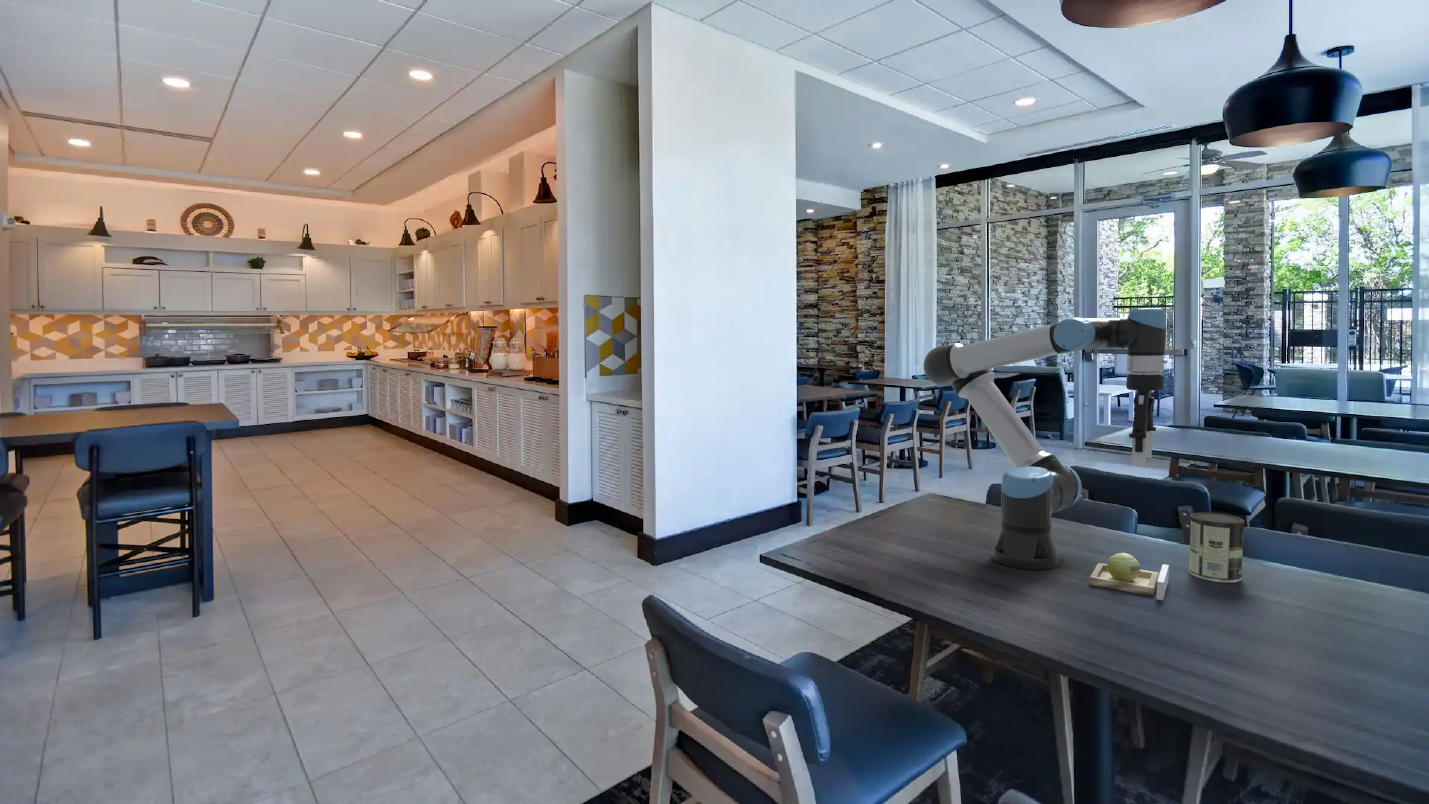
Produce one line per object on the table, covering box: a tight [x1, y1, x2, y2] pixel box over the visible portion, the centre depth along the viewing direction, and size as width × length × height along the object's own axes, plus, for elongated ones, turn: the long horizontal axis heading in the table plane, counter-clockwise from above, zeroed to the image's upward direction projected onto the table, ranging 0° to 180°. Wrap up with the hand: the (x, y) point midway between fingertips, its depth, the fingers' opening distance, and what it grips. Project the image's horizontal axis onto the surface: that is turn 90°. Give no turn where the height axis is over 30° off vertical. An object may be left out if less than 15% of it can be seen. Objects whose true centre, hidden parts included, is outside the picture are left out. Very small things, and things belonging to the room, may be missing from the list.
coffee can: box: [1188, 512, 1246, 584], centre depth 161 cm, size 10×10×14 cm
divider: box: [1155, 563, 1170, 601], centre depth 153 cm, size 1×14×4 cm, turn 143°
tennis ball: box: [1106, 552, 1141, 582], centre depth 158 cm, size 6×7×7 cm
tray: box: [1089, 562, 1160, 597], centre depth 158 cm, size 12×12×2 cm
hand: (1141, 461), depth 164 cm, fingers open, 13 cm apart
